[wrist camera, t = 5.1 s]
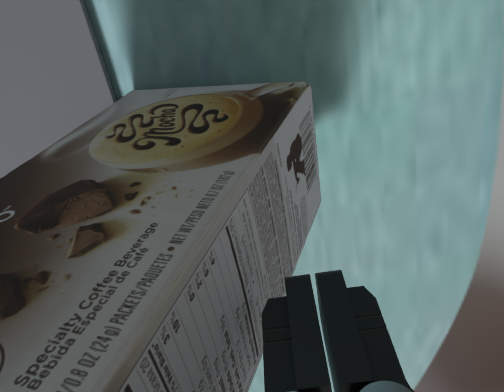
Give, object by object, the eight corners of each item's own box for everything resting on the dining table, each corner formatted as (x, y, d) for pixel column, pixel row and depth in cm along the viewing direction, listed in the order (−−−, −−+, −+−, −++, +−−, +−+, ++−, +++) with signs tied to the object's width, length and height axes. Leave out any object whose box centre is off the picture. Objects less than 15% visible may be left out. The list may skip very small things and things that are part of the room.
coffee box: (166, 196, 25) (-113, 505, 12) (131, 85, 21) (-300, 358, 9) (326, 205, 21) (160, 646, 9) (314, 76, 18) (24, 495, 6)
